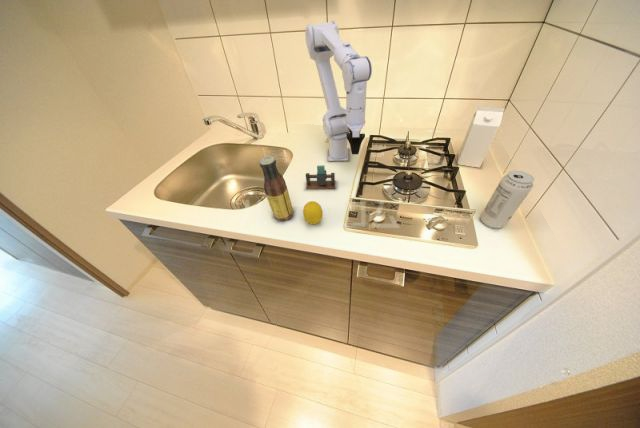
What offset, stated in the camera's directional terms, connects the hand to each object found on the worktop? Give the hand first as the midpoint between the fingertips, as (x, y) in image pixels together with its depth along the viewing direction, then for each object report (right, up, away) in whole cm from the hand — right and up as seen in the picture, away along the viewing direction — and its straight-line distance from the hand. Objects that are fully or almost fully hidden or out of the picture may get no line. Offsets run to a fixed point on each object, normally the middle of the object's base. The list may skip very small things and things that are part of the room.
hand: (354, 148), depth 77 cm
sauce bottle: (-23, -23, -7) cm, 33 cm away
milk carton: (+43, -3, +7) cm, 44 cm away
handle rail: (-11, -12, +3) cm, 17 cm away
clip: (-11, -11, +2) cm, 16 cm away
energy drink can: (+35, -25, -15) cm, 46 cm away
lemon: (-14, -25, -10) cm, 30 cm away
